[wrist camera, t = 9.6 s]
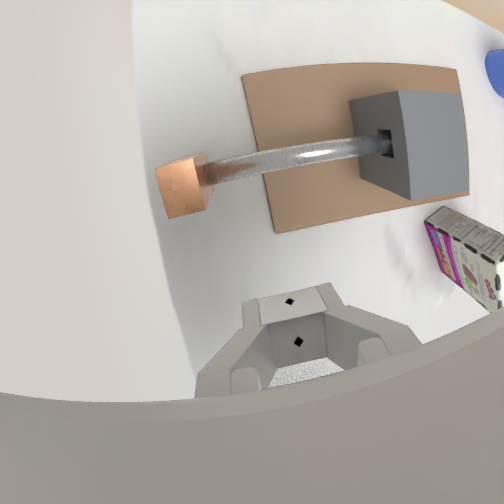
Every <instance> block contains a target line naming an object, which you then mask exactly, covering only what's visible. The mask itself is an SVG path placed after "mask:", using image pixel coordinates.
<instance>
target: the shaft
mask: <svg viewBox="0 0 504 504" xmlns="http://www.w3.org/2000/svg"><path fill="white" fill-rule="evenodd" d="M385 153H393V144H392V137H391V133H384V134H374V135H364V136H355V137H347V138H339V139H332V140H325V141H318V142H311V143H305V144H299V145H293V146H288V147H282V148H277V149H271V150H266V151H261V152H256V153H251V154H247V155H242V156H238V157H233V158H229V159H224V160H220V161H216V162H212V163H208V164H207V162H206V158H205V153H204V152H203V153H199V154H195V155H191V156H188V157H184V158H180V159H177V160H174V161H172V162H169V163H167V164H165V165H163V166H161V167H158V168H156V169H154V170H155V174H156V177H157V181H158V184H159V188H160V192H161V195H162V199H163V202H164V205H165V209H166V212H167V216H168V219H171V218H174V217H178V216H182V215H186V214H190V213H194V212H199V211H203V210H206V208H207V205H208V203H209V200H210V197H211V195H212V192H213V186H212V185H214V184H218V183H222V182H226V181H231V180H235V179H240V178H244V177H249V176H253V175H258V174H263V173H268V172H273V171H278V170H283V169H288V168H294V167H299V166H305V165H310V164H316V163H322V162H328V161H334V160H341V159H348V158H354V157H362V156H369V155H377V154H385Z"/></svg>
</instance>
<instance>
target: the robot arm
mask: <svg viewBox="0 0 504 504" xmlns="http://www.w3.org/2000/svg"><path fill="white" fill-rule="evenodd" d="M242 312H243V329H240V330H238V331H237V333H236V334H235V335H234V336H233V337H232V338H231V339H230V340H229V341H228V342H227V343H226V344H225V346H224V347H223V348H222V349H221V350H220V351H219V352H218V353H217V354H216V355H215V356H214V357H213V358H212V359H211V360H210V361H209V363H208V364H207V365H206V366H205V367H204V368H203V369H202V370H201V371H200V372H199V373H198V375H197V382H196V390H195V397H194V399H184V400H172V401H154V402H81V401H65V400H52V399H42V398H34V397H27V396H19V395H13V394H8V393H2V392H0V504H504V306H503V307H502V308H500V309H498V310H496V311H494V312H492V313H490V314H488V315H486V316H485V317H483V318H480V319H479V320H476V321H474V322H472V323H470V324H468V325H466V326H464V327H462V328H460V329H458V330H455V331H453V332H451V333H449V334H446V335H444V336H442V337H439V338H437V339H434V340H432V341H429V342H427V343H425V344H422V343H421V342H420V341H419V340H418V338H417V337H416V336H415V334H414V333H413V332H412V331H411V329H410V328H409V327H408V326H407V325H404V324H401V323H399V322H396V321H393V320H390V319H387V318H384V317H381V316H378V315H376V314H373V313H370V312H367V311H364V310H361V309H359V308H356V307H353V306H350V305H347V306H345V305H344V304H343V302H342V300H341V299H340V297H339V296H338V294H337V292H336V291H335V289H334V288H333V286H332V284H331V283H325V284H322V285H318V286H314V287H310V288H306V289H302V290H298V291H294V292H290V293H284V294H279V295H274V296H269V297H264V298H258V299H252V300H248V301H243V303H242ZM325 357H327V358H328V359H330V360H331V361H333V362H334V363H335V364H337V365H338V366H340V367H341V368H343V369H344V371H341V372H337V373H333V374H329V375H326V376H322V377H318V378H314V379H309V380H305V381H301V382H296V383H292V384H287V385H282V386H277V387H272V388H267V387H268V385H269V383H270V381H271V379H272V378H273V376H274V374H275V372H276V369H277V368H281V367H285V366H290V365H294V364H298V363H302V362H307V361H311V360H316V359H320V358H325Z"/></svg>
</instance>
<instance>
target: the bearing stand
mask: <svg viewBox="0 0 504 504" xmlns="http://www.w3.org/2000/svg"><path fill="white" fill-rule="evenodd" d="M242 80H243V84H244V88H245V93H246V97H247V101H248V106H249V110H250V115H251V119H252V123H253V128H254V133H255V137H256V142H257V146H258V151H259V152H261V151H266V150H271V149H277V148H282V147H288V146H293V145H299V144H305V143H311V142H318V141H325V140H332V139H339V138H347V137H355V136H364V135H374V134H384V133H391V137H392V144H393V153H385V154H377V155H369V156H362V157H354V158H348V159H341V160H334V161H328V162H322V163H316V164H310V165H305V166H299V167H294V168H288V169H283V170H278V171H273V172H268V173H263V175H264V179H265V184H266V189H267V194H268V199H269V204H270V209H271V214H272V219H273V224H274V229H275V233H276V234H279V233H284V232H288V231H293V230H298V229H303V228H307V227H312V226H317V225H322V224H326V223H331V222H336V221H341V220H346V219H351V218H355V217H360V216H365V215H370V214H375V213H380V212H385V211H390V210H395V209H400V208H405V207H410V206H415V205H420V204H425V203H430V202H435V201H441V200H446V199H451V198H456V197H461V196H467V195H469V159H468V144H467V133H466V123H465V115H464V108H463V102H462V96H461V90H460V85H459V80H458V75H457V70H456V69H450V68H443V67H435V66H425V65H414V64H398V63H338V64H321V65H309V66H299V67H290V68H282V69H275V70H268V71H262V72H256V73H250V74H245V75H242Z"/></svg>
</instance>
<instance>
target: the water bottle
mask: <svg viewBox="0 0 504 504" xmlns="http://www.w3.org/2000/svg"><path fill="white" fill-rule="evenodd" d="M485 64H486V71H487V75H488V78H489V80H490V83H491V85H492V87H493V88H494V90H495V91H496V92H497V93H498V94H499V95H500V96H501V97H503V98H504V49H503V50H495V51H490V52H488V54H487V56H486V60H485Z"/></svg>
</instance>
